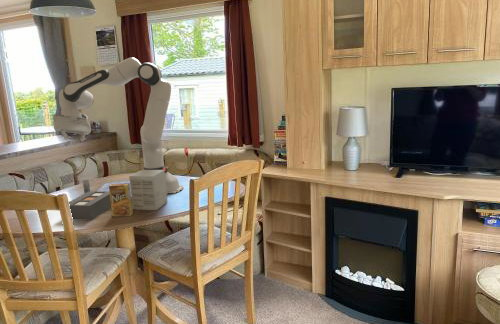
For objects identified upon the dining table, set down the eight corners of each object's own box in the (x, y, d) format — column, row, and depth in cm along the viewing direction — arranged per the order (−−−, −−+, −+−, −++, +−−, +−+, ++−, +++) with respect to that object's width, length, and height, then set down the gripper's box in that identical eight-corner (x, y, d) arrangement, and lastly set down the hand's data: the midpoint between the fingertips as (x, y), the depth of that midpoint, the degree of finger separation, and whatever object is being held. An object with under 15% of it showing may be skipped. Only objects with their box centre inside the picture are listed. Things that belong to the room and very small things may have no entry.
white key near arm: (105, 198, 200) (104, 193, 200) (99, 202, 195) (99, 196, 195) (96, 198, 201) (95, 193, 201) (90, 201, 196) (89, 196, 196)
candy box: (112, 217, 183) (108, 186, 180) (115, 213, 187) (111, 183, 184) (130, 216, 183) (127, 185, 180) (133, 213, 187) (129, 182, 184)
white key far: (90, 207, 187) (89, 201, 186) (84, 211, 182) (83, 205, 181) (80, 207, 188) (79, 201, 187) (74, 211, 183) (73, 205, 182)
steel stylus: (91, 199, 213) (88, 178, 210) (91, 200, 210) (88, 179, 207) (85, 200, 211) (82, 178, 209) (85, 201, 209) (82, 180, 206)
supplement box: (144, 201, 205) (141, 169, 201) (167, 201, 202) (164, 169, 198) (132, 209, 193) (128, 175, 189) (156, 210, 190) (153, 176, 186)
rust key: (98, 203, 194) (97, 197, 193) (92, 206, 189) (91, 200, 188) (88, 203, 194) (87, 197, 194) (82, 206, 189) (81, 200, 189)
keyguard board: (115, 204, 202) (113, 191, 200) (91, 219, 181) (89, 205, 179) (90, 204, 204) (89, 191, 202) (64, 219, 183) (62, 205, 181)
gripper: (55, 110, 201) (59, 134, 197) (90, 117, 218) (94, 139, 215) (49, 115, 204) (53, 139, 201) (83, 121, 221) (87, 143, 218)
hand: (74, 139), depth 208 cm, fingers open, 8 cm apart
